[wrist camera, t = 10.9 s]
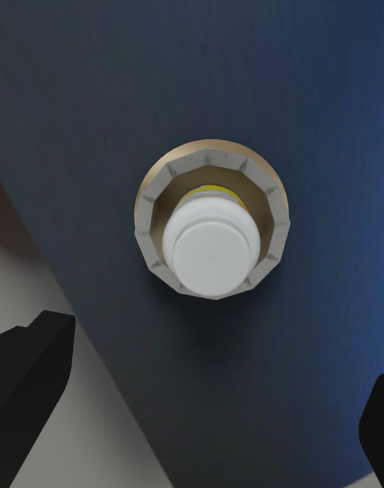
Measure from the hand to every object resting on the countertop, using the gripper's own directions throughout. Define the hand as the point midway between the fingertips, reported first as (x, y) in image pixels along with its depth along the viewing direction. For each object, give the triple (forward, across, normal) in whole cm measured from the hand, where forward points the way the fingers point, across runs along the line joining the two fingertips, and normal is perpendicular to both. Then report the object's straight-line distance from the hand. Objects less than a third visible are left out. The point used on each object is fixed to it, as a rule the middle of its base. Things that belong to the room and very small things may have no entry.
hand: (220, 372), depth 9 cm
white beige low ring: (+20, 0, 0) cm, 20 cm away
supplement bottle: (+19, 0, 0) cm, 19 cm away
